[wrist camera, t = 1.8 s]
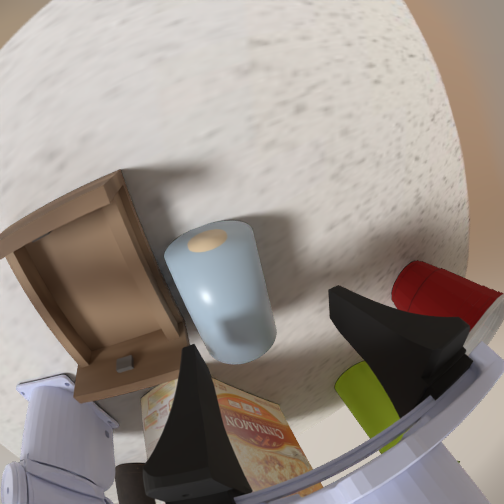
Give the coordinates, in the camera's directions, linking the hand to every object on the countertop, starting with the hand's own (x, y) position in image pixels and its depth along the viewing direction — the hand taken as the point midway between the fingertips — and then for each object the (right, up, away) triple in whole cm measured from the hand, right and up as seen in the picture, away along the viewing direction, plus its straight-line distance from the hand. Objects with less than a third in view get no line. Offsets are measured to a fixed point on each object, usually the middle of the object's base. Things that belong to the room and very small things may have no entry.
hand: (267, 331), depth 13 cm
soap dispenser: (+13, -12, +18) cm, 25 cm away
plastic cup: (+17, 0, +14) cm, 22 cm away
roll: (-2, +3, +5) cm, 6 cm away
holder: (-11, +2, +2) cm, 12 cm away
